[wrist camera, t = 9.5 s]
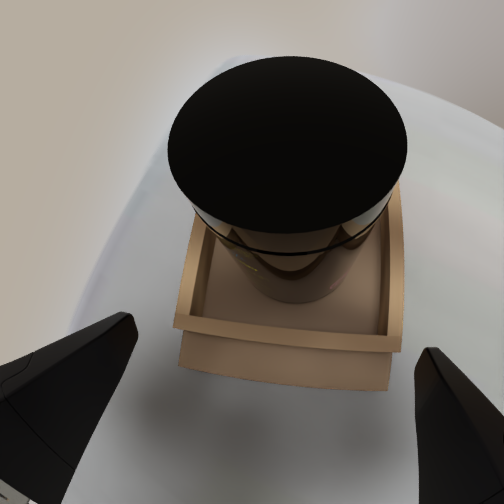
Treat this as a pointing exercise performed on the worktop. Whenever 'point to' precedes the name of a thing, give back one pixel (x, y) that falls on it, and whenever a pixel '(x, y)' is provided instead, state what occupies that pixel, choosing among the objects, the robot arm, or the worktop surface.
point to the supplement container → (289, 169)
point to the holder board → (295, 317)
